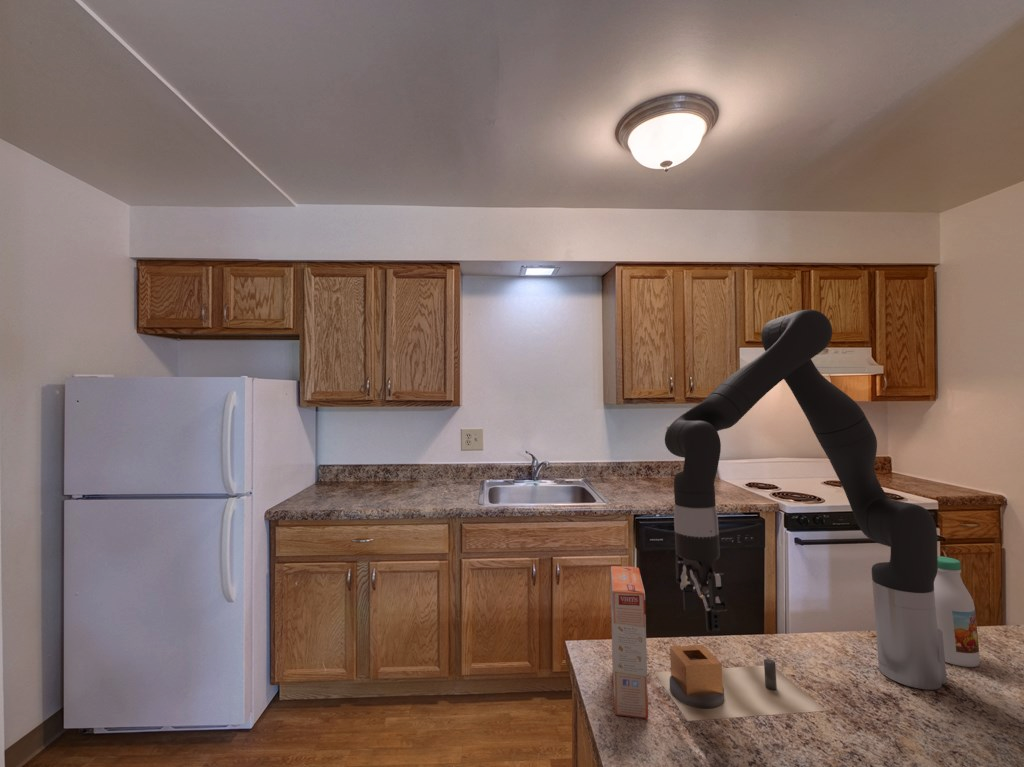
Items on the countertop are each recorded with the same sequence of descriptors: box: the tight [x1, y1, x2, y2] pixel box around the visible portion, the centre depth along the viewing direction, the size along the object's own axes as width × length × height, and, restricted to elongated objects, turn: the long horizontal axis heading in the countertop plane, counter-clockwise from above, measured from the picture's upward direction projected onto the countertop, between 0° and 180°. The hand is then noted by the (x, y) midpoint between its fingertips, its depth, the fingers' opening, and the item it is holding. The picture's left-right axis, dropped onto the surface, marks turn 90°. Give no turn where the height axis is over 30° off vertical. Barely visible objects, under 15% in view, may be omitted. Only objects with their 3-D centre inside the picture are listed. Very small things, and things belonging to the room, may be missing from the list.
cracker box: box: [610, 565, 649, 719], centre depth 84 cm, size 14×6×21 cm, turn 168°
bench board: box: [653, 658, 828, 722], centre depth 82 cm, size 24×14×7 cm, turn 95°
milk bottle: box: [934, 555, 981, 668], centre depth 94 cm, size 8×8×20 cm
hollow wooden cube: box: [669, 644, 723, 696], centre depth 81 cm, size 6×6×5 cm
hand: (701, 621), depth 82 cm, fingers open, 8 cm apart
